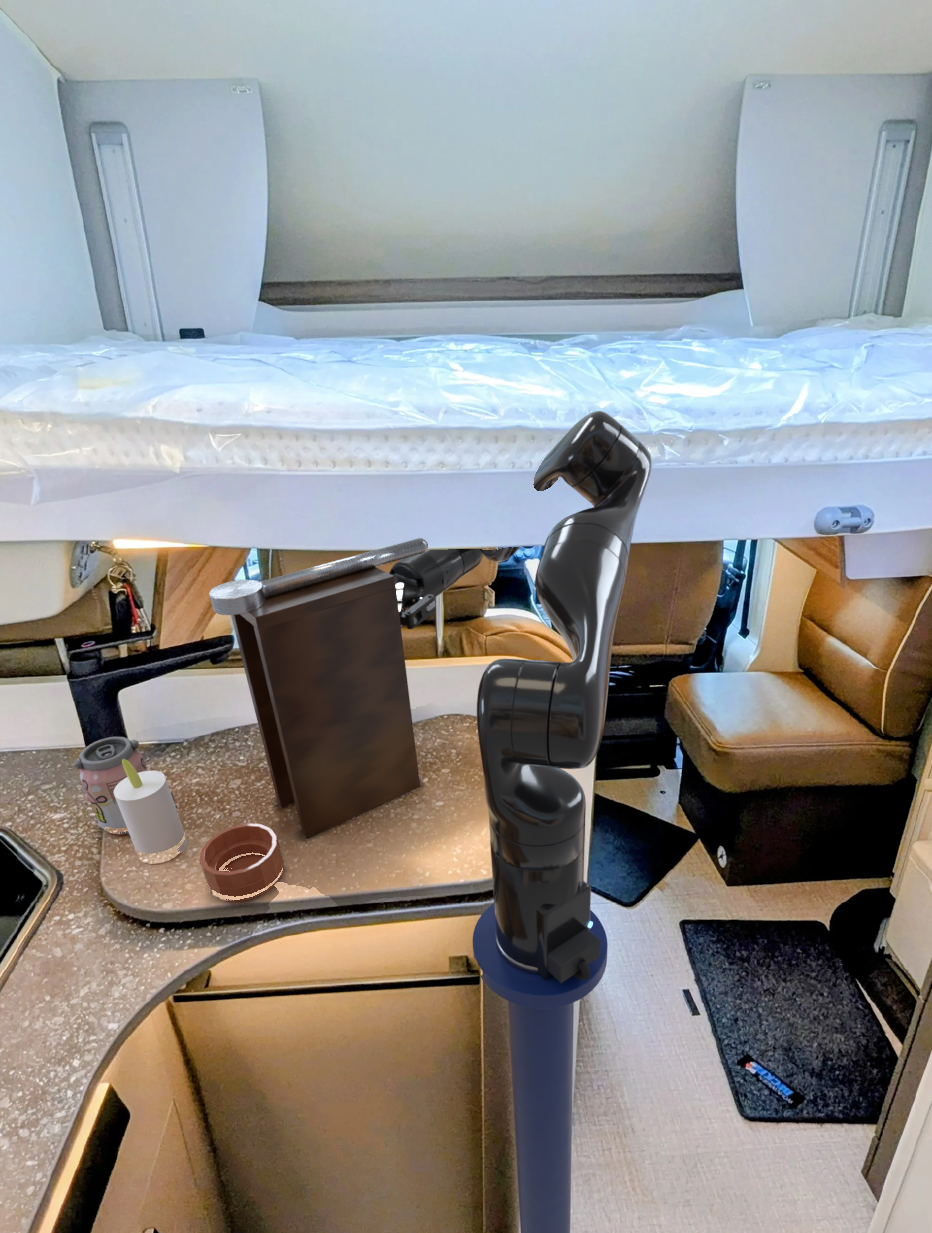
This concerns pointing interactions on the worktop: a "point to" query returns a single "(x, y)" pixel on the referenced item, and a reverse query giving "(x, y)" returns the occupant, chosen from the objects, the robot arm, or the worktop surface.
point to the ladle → (304, 578)
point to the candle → (149, 810)
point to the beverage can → (107, 775)
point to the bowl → (242, 860)
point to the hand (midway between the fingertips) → (351, 622)
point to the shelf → (332, 696)
